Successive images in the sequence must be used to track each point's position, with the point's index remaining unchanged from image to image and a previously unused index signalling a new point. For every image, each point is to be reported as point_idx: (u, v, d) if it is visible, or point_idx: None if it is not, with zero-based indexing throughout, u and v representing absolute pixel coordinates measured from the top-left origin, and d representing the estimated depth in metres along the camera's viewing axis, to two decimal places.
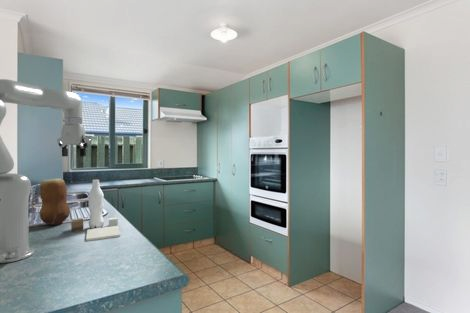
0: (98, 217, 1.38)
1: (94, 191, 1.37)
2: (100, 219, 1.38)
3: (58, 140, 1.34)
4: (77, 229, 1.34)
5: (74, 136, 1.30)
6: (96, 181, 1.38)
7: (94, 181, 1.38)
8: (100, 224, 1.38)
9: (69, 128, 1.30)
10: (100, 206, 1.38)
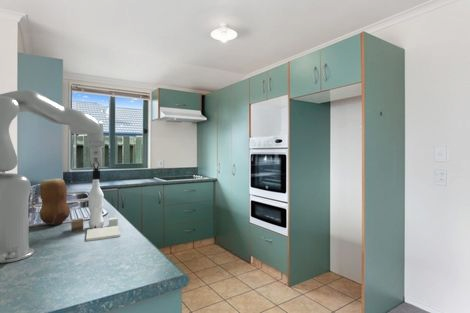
0: (98, 217, 1.38)
1: (94, 191, 1.37)
2: (100, 219, 1.38)
3: (97, 163, 1.33)
4: (77, 229, 1.34)
5: None
6: (96, 181, 1.38)
7: (94, 181, 1.38)
8: (100, 224, 1.38)
9: None
10: (100, 206, 1.38)
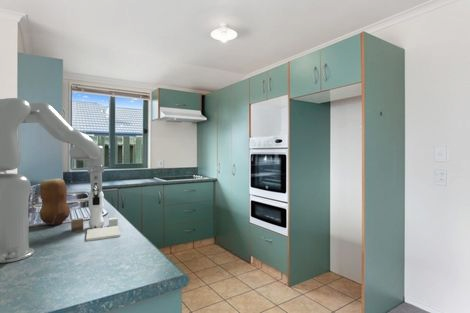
0: (98, 217, 1.38)
1: None
2: (100, 219, 1.38)
3: None
4: (77, 229, 1.34)
5: None
6: None
7: None
8: (100, 224, 1.38)
9: None
10: (100, 206, 1.38)
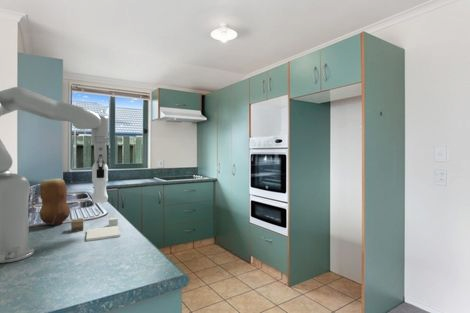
0: (102, 191, 1.30)
1: None
2: (104, 193, 1.31)
3: None
4: (77, 229, 1.34)
5: None
6: None
7: None
8: (104, 199, 1.31)
9: None
10: (104, 179, 1.30)
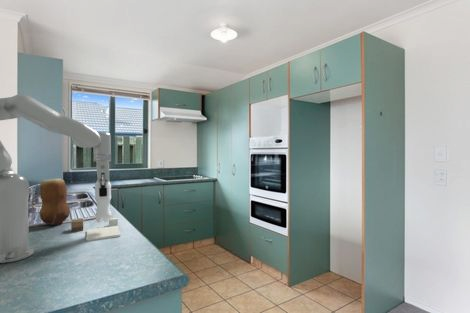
0: (105, 209, 1.27)
1: None
2: (108, 212, 1.28)
3: (104, 180, 1.23)
4: (77, 229, 1.34)
5: None
6: None
7: None
8: (108, 217, 1.28)
9: None
10: (107, 198, 1.28)
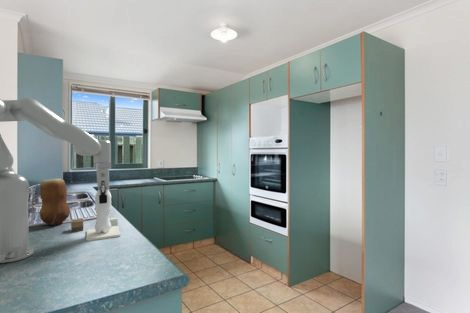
0: (105, 220, 1.27)
1: None
2: (107, 223, 1.28)
3: (104, 187, 1.22)
4: (77, 229, 1.34)
5: None
6: None
7: None
8: (107, 228, 1.28)
9: None
10: (107, 208, 1.28)
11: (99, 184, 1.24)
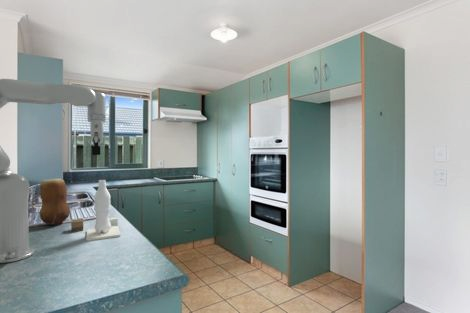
0: (105, 220, 1.27)
1: (101, 193, 1.26)
2: (107, 223, 1.28)
3: (97, 137, 1.21)
4: (77, 229, 1.34)
5: None
6: (103, 182, 1.28)
7: (100, 182, 1.27)
8: (107, 228, 1.28)
9: None
10: (107, 209, 1.28)
11: (92, 135, 1.23)
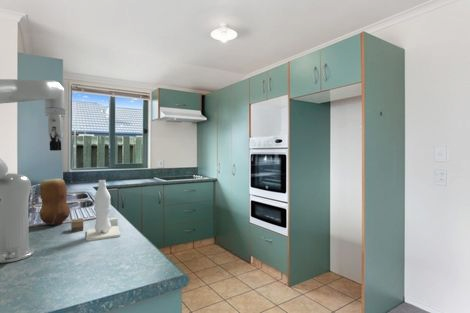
0: (105, 220, 1.27)
1: (101, 193, 1.26)
2: (107, 223, 1.28)
3: (54, 132, 1.16)
4: (77, 229, 1.34)
5: None
6: (102, 182, 1.28)
7: (100, 182, 1.27)
8: (107, 228, 1.28)
9: (62, 120, 1.24)
10: (107, 209, 1.28)
11: (50, 130, 1.17)
